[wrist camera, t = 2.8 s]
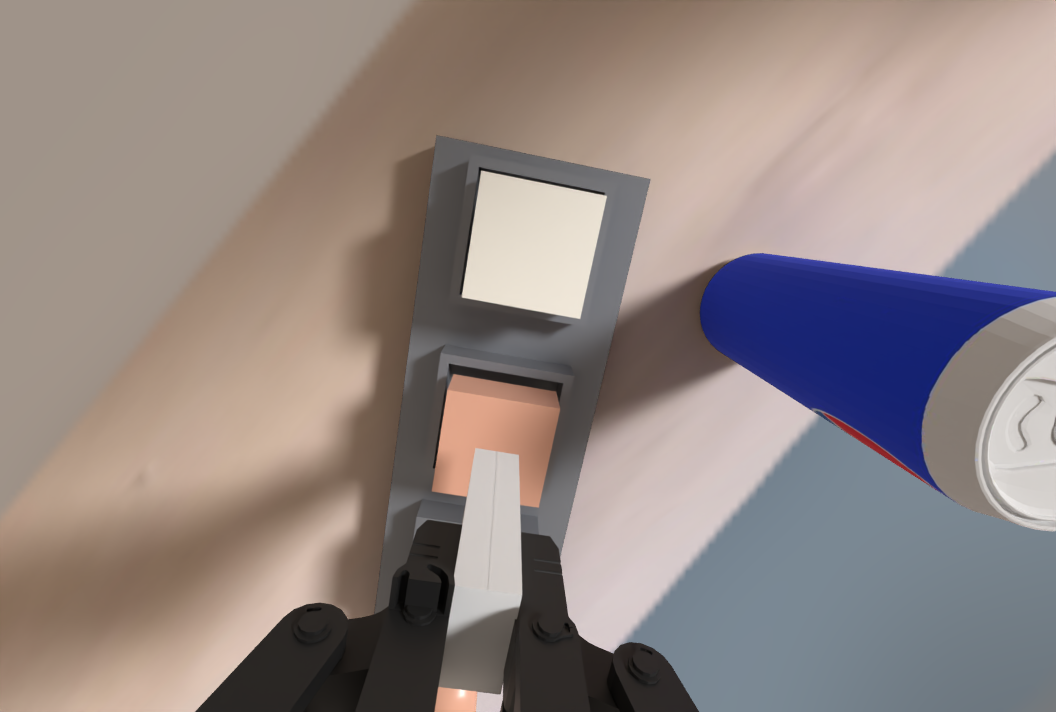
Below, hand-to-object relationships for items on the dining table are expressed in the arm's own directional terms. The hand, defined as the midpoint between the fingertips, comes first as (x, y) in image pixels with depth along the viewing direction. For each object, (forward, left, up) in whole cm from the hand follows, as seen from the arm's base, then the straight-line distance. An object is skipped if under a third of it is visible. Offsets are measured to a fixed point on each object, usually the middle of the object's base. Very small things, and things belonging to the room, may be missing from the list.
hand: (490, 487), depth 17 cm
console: (+1, +1, -9) cm, 9 cm away
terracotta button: (0, 0, -5) cm, 5 cm away
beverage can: (-13, +1, -9) cm, 16 cm away
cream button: (-5, -7, -5) cm, 9 cm away
